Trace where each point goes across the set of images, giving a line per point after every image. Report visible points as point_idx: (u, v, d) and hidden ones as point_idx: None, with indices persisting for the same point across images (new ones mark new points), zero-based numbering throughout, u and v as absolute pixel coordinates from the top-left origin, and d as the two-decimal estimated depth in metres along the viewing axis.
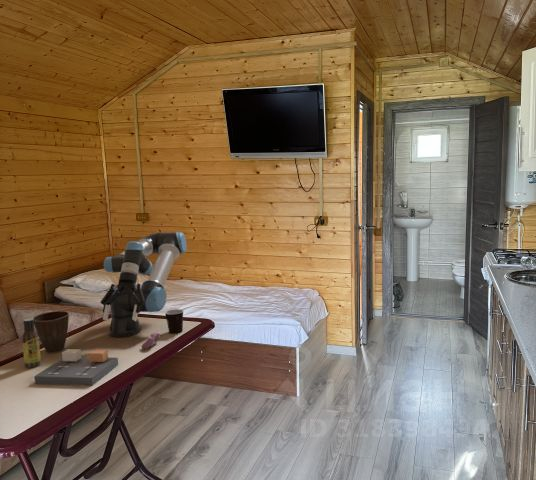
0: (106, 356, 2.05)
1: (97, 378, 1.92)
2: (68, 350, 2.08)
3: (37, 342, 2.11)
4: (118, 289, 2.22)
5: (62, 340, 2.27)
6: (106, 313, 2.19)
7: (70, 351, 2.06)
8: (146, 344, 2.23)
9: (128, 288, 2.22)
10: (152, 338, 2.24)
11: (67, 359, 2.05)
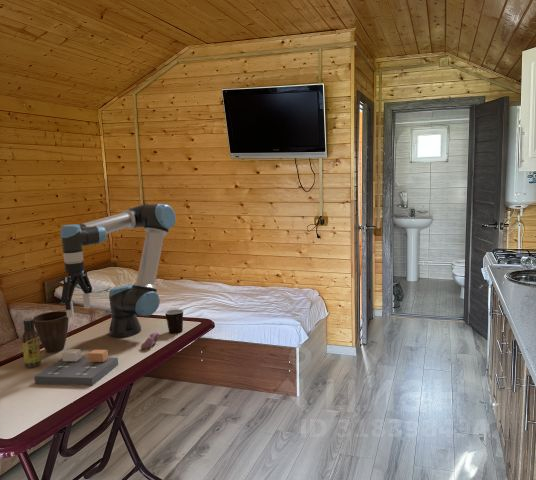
0: (106, 356, 2.05)
1: (97, 378, 1.92)
2: (68, 350, 2.08)
3: (37, 342, 2.11)
4: None
5: (62, 340, 2.27)
6: (85, 302, 2.18)
7: (70, 351, 2.06)
8: (146, 344, 2.23)
9: None
10: (151, 338, 2.24)
11: (67, 359, 2.05)
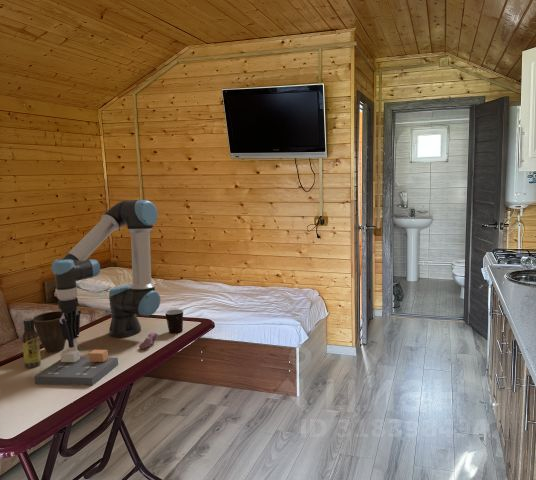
0: (106, 356, 2.05)
1: (97, 378, 1.92)
2: (67, 351, 2.07)
3: (37, 342, 2.11)
4: None
5: (62, 340, 2.27)
6: None
7: (69, 352, 2.05)
8: (144, 344, 2.24)
9: None
10: (150, 338, 2.24)
11: (66, 360, 2.04)
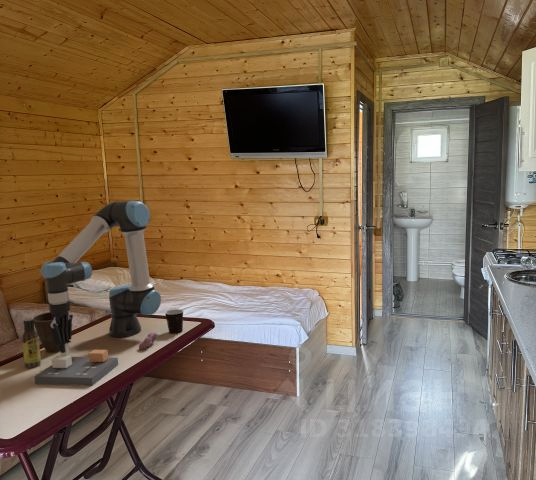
0: (106, 356, 2.05)
1: (97, 378, 1.92)
2: (58, 356, 2.01)
3: (37, 342, 2.11)
4: None
5: None
6: None
7: (60, 357, 2.00)
8: (143, 344, 2.24)
9: None
10: (149, 338, 2.24)
11: (57, 366, 1.99)
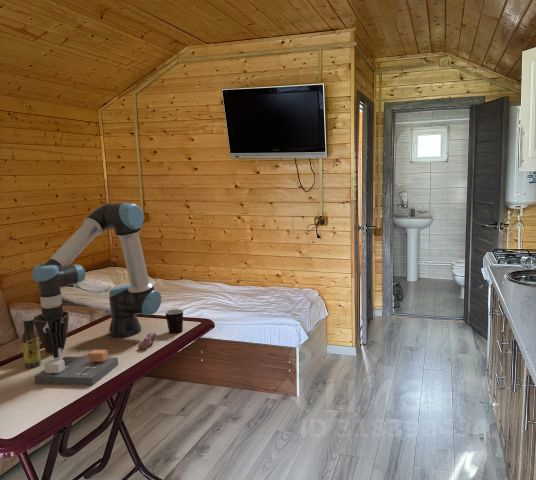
0: (106, 356, 2.05)
1: (97, 378, 1.92)
2: (51, 361, 1.96)
3: (37, 342, 2.11)
4: None
5: None
6: None
7: (53, 362, 1.95)
8: (143, 344, 2.24)
9: None
10: (148, 338, 2.24)
11: (50, 371, 1.94)
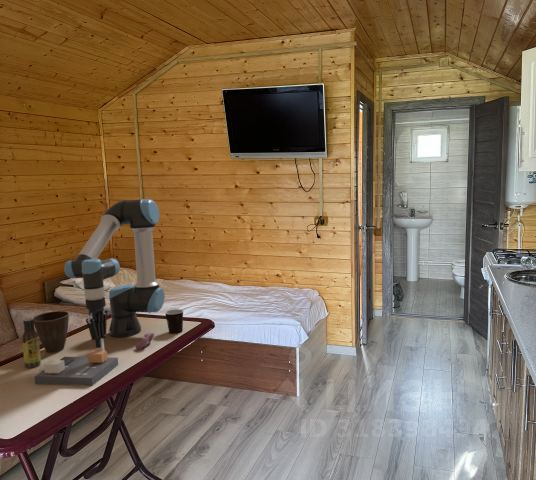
0: (105, 357, 2.04)
1: (97, 378, 1.92)
2: (51, 361, 1.96)
3: (37, 342, 2.11)
4: None
5: (62, 340, 2.27)
6: None
7: (53, 362, 1.95)
8: (140, 344, 2.24)
9: None
10: (146, 338, 2.24)
11: (49, 371, 1.94)
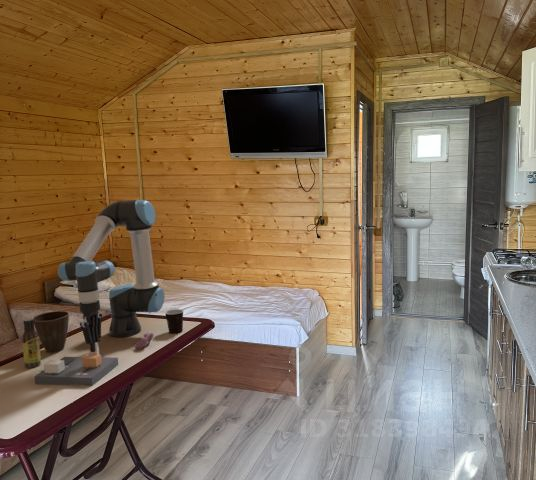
0: (99, 361, 2.00)
1: (97, 378, 1.92)
2: (51, 361, 1.96)
3: (37, 342, 2.11)
4: None
5: (62, 340, 2.27)
6: None
7: (53, 362, 1.95)
8: (140, 344, 2.24)
9: None
10: (145, 338, 2.24)
11: (49, 371, 1.94)
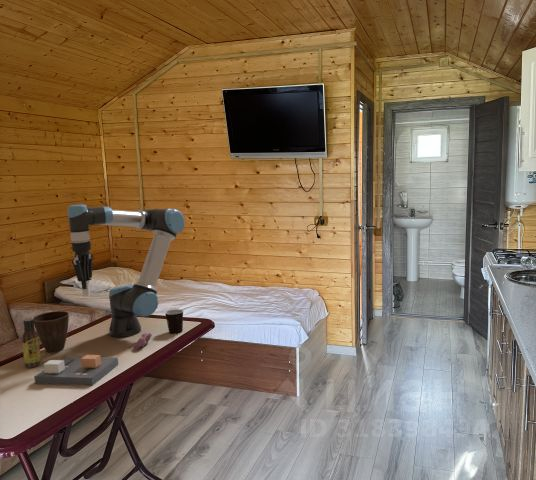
0: (99, 361, 1.99)
1: (97, 378, 1.92)
2: (51, 361, 1.96)
3: (37, 342, 2.11)
4: None
5: (62, 340, 2.27)
6: None
7: (53, 362, 1.95)
8: (138, 344, 2.24)
9: None
10: (143, 338, 2.25)
11: (49, 371, 1.94)
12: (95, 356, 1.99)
